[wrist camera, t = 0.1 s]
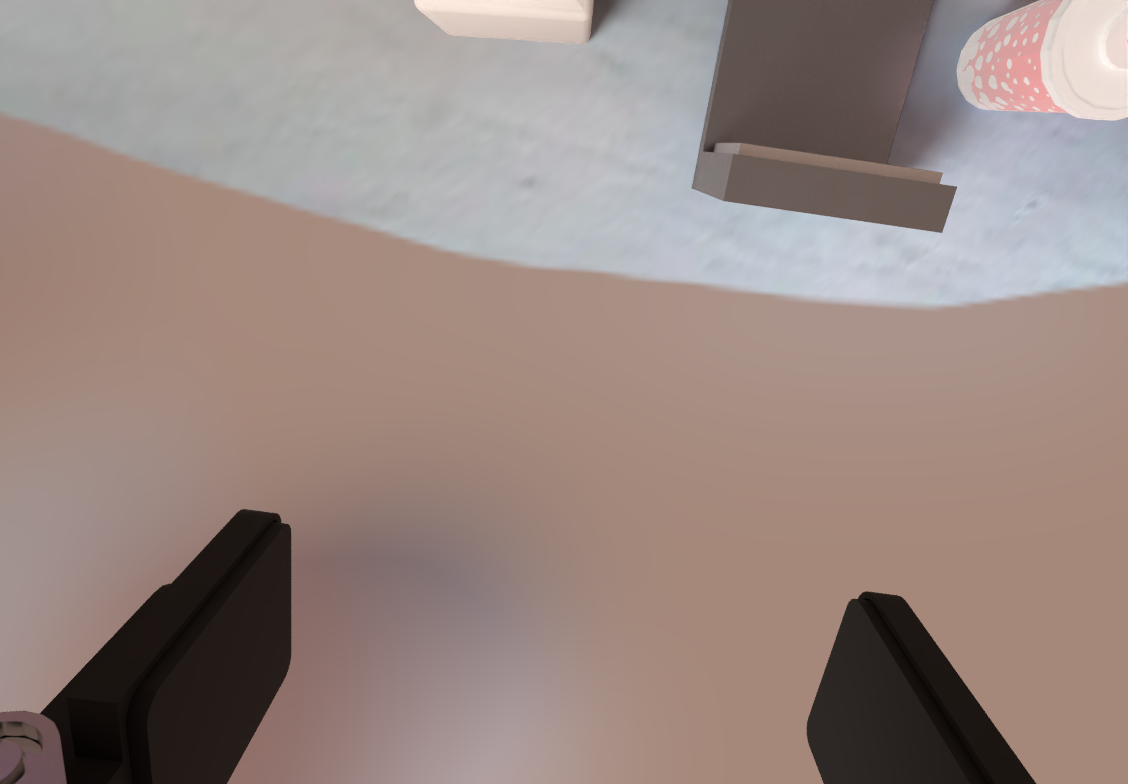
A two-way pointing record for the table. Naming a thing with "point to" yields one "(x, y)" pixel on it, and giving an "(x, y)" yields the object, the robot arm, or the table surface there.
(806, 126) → the vise base
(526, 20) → the container
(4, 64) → the table surface
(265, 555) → the robot arm
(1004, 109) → the beverage cup
